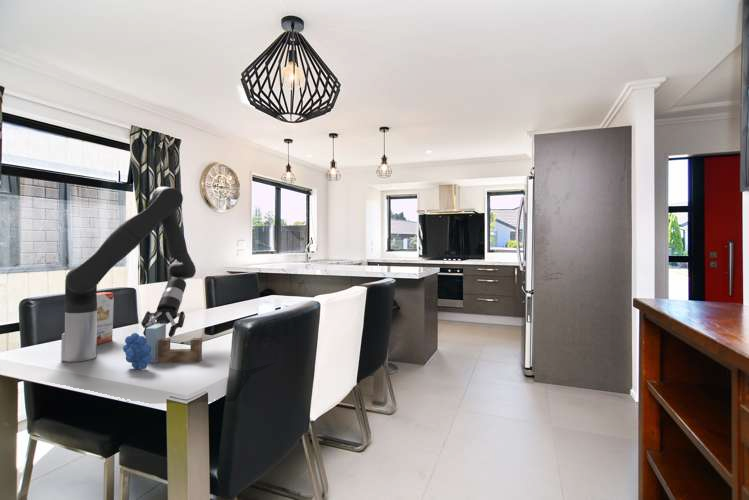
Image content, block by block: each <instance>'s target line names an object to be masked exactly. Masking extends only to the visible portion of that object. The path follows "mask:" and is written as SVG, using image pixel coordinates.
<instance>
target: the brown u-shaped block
mask: <svg viewBox="0 0 749 500" xmlns="http://www.w3.org/2000/svg"><path fill="white" fill-rule="evenodd" d="M201 361H203V338H202V337H193V338H192V339H190V348H171V337H169V338H167V337H166V338H161V339H160V340H158V361H157V363H158V364H163V363H165V364H167V363H169V364H171V363H173V364H174V363H175V364H176V363H177V364H179V363H180V364H181V363H200V362H201Z"/></svg>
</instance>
